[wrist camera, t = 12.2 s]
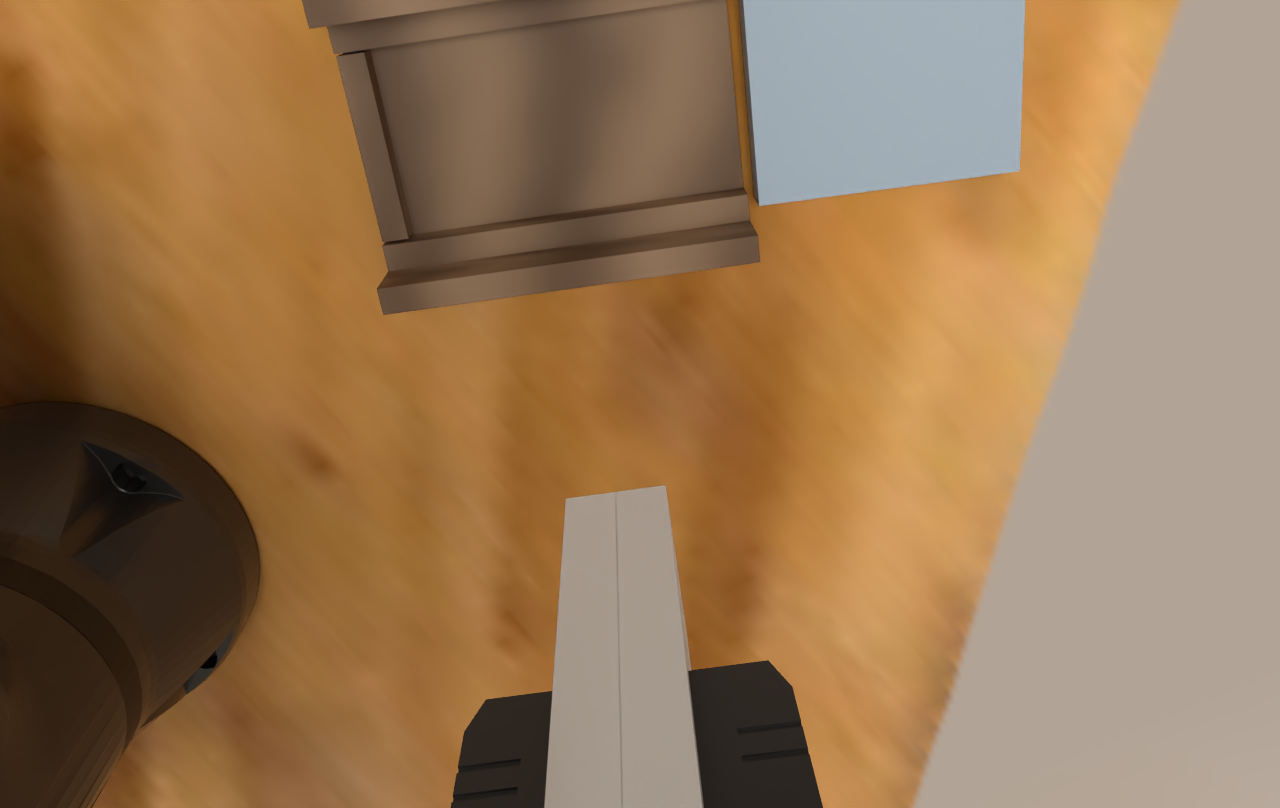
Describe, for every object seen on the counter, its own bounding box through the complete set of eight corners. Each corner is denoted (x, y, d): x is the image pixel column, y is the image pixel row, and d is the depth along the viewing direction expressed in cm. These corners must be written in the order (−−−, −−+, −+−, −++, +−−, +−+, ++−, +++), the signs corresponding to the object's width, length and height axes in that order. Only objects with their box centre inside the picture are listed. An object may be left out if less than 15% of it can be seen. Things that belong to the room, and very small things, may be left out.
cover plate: (752, 194, 40) (759, 205, 38) (734, -32, 36) (740, -31, 35) (1000, 161, 40) (1019, 171, 38) (1006, -70, 36) (1027, -71, 34)
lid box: (404, 280, 40) (383, 314, 37) (333, -10, 36) (300, -5, 32) (745, 232, 40) (760, 262, 36) (717, -67, 35) (731, -69, 32)
